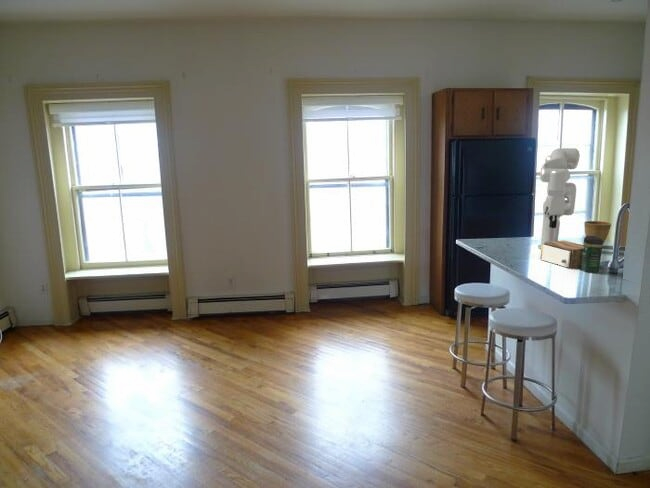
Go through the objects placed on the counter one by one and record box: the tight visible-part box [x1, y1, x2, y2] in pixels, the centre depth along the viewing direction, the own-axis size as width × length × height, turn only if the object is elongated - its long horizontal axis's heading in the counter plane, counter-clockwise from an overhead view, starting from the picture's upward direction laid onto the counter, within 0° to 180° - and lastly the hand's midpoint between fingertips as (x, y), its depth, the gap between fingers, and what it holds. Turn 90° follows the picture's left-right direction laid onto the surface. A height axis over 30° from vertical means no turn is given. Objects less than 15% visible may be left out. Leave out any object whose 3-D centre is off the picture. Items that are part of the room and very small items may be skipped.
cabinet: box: [544, 239, 583, 270], centre depth 245 cm, size 14×20×11 cm
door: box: [539, 244, 571, 268], centre depth 243 cm, size 2×19×9 cm, turn 19°
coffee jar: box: [579, 235, 604, 274], centre depth 229 cm, size 10×8×19 cm
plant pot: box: [583, 220, 612, 245], centre depth 284 cm, size 15×15×16 cm
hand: (552, 227), depth 235 cm, fingers closed
